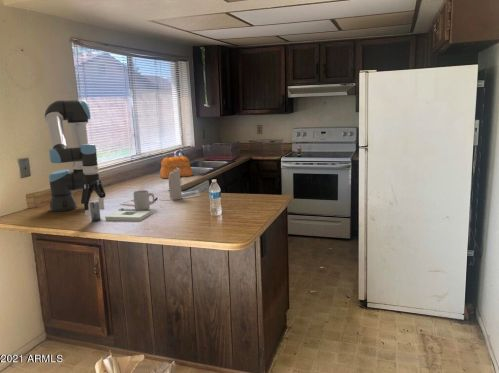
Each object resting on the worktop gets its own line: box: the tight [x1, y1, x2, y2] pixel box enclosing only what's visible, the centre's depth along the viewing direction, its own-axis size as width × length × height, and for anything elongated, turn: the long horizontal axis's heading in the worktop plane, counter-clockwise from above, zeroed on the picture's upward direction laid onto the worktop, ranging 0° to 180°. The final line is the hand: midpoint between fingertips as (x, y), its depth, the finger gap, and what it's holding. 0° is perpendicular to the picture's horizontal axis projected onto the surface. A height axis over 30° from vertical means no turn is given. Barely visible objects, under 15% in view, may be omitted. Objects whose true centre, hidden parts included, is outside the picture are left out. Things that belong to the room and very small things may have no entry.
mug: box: [133, 189, 156, 209], centre depth 248 cm, size 12×8×11 cm
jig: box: [104, 207, 153, 222], centre depth 234 cm, size 20×16×3 cm
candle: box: [159, 168, 183, 201], centre depth 273 cm, size 7×14×20 cm, turn 108°
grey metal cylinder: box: [89, 201, 102, 223], centre depth 228 cm, size 5×5×10 cm
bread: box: [159, 155, 193, 179], centre depth 361 cm, size 16×26×17 cm, turn 116°
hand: (95, 212), depth 228 cm, fingers open, 13 cm apart
